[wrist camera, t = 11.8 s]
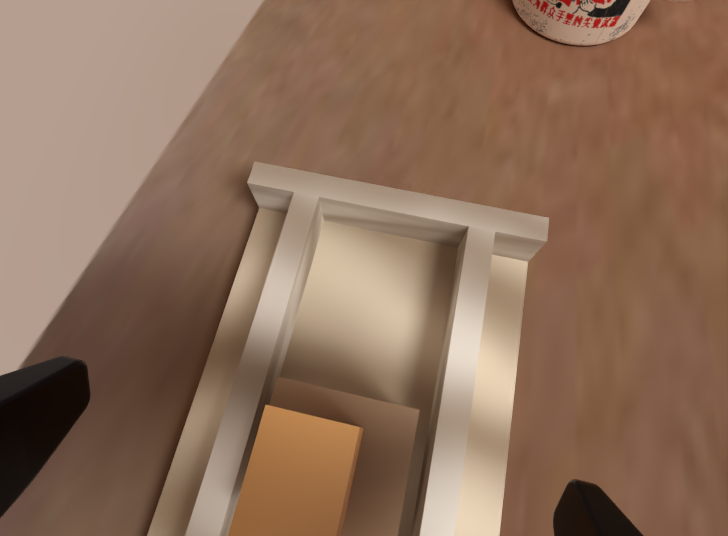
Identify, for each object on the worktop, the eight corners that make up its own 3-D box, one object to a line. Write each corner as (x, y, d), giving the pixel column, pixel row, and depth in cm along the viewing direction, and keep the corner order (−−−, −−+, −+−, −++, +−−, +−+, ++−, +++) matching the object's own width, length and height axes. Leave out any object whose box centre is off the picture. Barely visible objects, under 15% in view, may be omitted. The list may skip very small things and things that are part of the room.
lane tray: (471, 691, 17) (499, 763, 14) (139, 597, 19) (81, 640, 15) (522, 238, 24) (550, 202, 20) (275, 189, 25) (259, 147, 22)
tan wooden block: (384, 541, 18) (418, 777, 6) (265, 510, 18) (62, 670, 6) (407, 414, 20) (472, 388, 7) (298, 389, 20) (190, 324, 8)
